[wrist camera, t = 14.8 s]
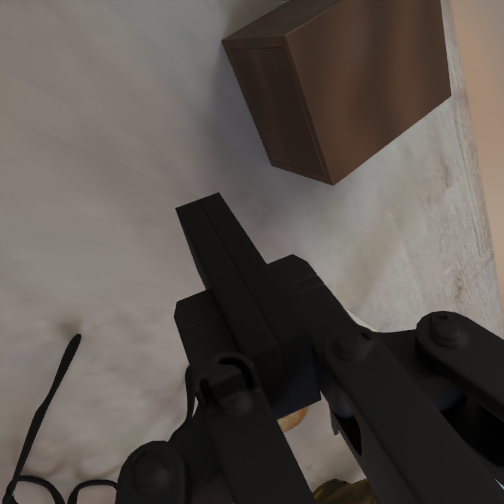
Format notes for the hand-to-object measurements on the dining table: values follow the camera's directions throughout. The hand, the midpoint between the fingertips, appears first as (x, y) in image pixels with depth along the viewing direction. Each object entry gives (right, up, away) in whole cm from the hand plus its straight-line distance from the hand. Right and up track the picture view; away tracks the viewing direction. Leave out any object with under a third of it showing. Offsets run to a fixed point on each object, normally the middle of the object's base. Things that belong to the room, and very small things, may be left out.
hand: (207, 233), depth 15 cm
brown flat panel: (+13, +16, +25) cm, 32 cm away
